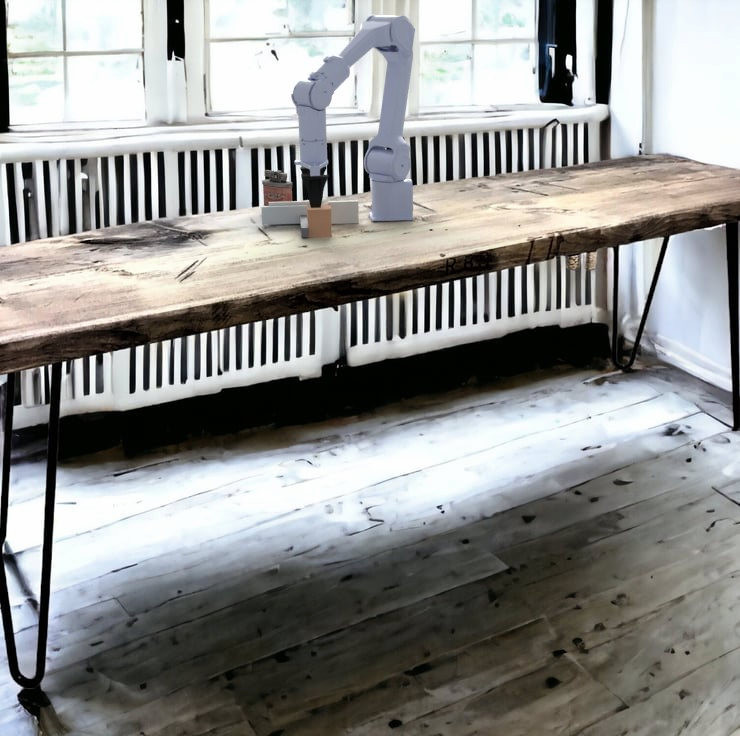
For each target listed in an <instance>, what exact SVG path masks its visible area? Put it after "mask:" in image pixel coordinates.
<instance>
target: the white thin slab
mask: <svg viewBox="0 0 740 736" xmlns="http://www.w3.org/2000/svg"><path fill="white" fill-rule="evenodd" d="M327 202H328V203H327V204H328V205H330V206H331V222H332V225H341V224H342V225H344V224H359V222H360V221H359V219H360V218H359V200H357V199H356V200H328V201H327ZM285 205H306V211H307V206H310V203H309V200H297V201H296V200H294V201H293V200H292V201H289V202H269V206H285ZM307 222H308V219H307Z"/></svg>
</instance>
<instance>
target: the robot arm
mask: <svg viewBox="0 0 740 736" xmlns="http://www.w3.org/2000/svg"><path fill="white" fill-rule="evenodd" d="M415 32H416V29H415V27H414V25H413V23H412V22H411V19H409V18H408V17H407V16H405V15H378V14H370V15H369V16H367V18H366V19H365V20H363V21H362V22H361V23H360V29H359V30H358V32H357V33H356V34H355V35H354V36H353V38H352V39H351V40H350V41H349V42H348V44H347V45H346V46H345V47H344V48H343V50H342V51H341V52H340V53H339V54H338V55H334V54H333V55H329V56H325V57H324V58H323V60H322V61H323V63H321V65H319V67H317V68H316V70H314V71H311V73H310V74H309V77H308V78H307V79H301V80H299V81H298V82H297V83H296V84H295V86H294V87H293V90H292V93H291V95H290V96H291V97H290V98H291V101H292V103H293V105H294V106H295V110H296V111H295V112H296V114H297V117H298V137H299V138H298V140H299V141H298V142H299V159H295V160H294V165H295V166H300V167H299V169H300V171H301V174H300V177H301V180H302V181H303V183H304V186H305V188H306V191H307V197H308V201H309V203H310V206H311V208H321V205H322V204H323V195H324V190H325V187H326V184H327V181H328V179H329V174H325V172H326V171H327V166H328V165H329V159H328V149H327V148H328V145H327V144H328V142H327V111H326V110H327V107H329V106H330V104H331V102H332V98H333V95H334V94H335V91H336V90H337V89H338V88H340V87H341V85H343V83H344V82H346V80H347V79H349V77H350V75H351V70H350V69H351V68H352V66H354V65H355V64H356V63H357V62H358V61H359V60H360V59H361V58H363V57H364V56H366V54H368V52H369V51H371V50H372V49H375V51H377V52H379V53H380V54H381V55H382V56H383V57H384V60H385V61H386V62H387V63H386V71H385V76H384V77H385V78H384V84H383V86H384V87H383V94H382V101H381V109H380V116H379V117H380V118H379V123H378V130H377V131H378V132H377V134H376V135H375V136H373V138H372V139H371V140H370V141H369V142H368V149H367V151H366V153H365V154H364V155H365V156H364V158H363V167H364V169H365V172H367V174H369V175H368V178H369V179H371V211H368V215H369V217H370V220H371V222H390V221H391V222H394V221H395V222H396V221H397V222H398V221H413V220H414V203H413V202H414V192H413V191H414V188H413V180H412V179H411V178H406V177H407V176H408V175H409V172H410V170H411V166H412V165H411V164H412V161H411V155H410V152H411V146H410V145H409V144H408V142H406V140H405V139H404V137H403V132H404V127H405V126H404V125H405V120H406V119H405V117H406V112H407V104H408V95H409V89H410V82H411V75H412V67H413V62H414V61H413V60H414V53H413V52H414V51H413V49H414V48H413V47H414V40H415ZM388 148H390V149H388Z"/></svg>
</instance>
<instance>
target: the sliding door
mask: <svg viewBox="0 0 740 736" xmlns="http://www.w3.org/2000/svg"><path fill="white" fill-rule="evenodd" d="M260 208H261V209H260V210H261V225H262V226H265V225H268V226H270V225H272V226H273V225H298V224H299V226H300V234H301V238H310V237H309V233H308V222H307V211H306V205H285V206H264V205H261V207H260Z"/></svg>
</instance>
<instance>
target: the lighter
mask: <svg viewBox="0 0 740 736" xmlns="http://www.w3.org/2000/svg"><path fill="white" fill-rule="evenodd" d="M263 174H264V177H269V178H268V179H267V178H266V179H263V180H261V184H262V192H263V206H269V202H289V201H293V191H292V189H293V182H292V181H287V180H288V173H287V172H282V170H276V171H275V170H269V169H266V170H264V173H263Z"/></svg>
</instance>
